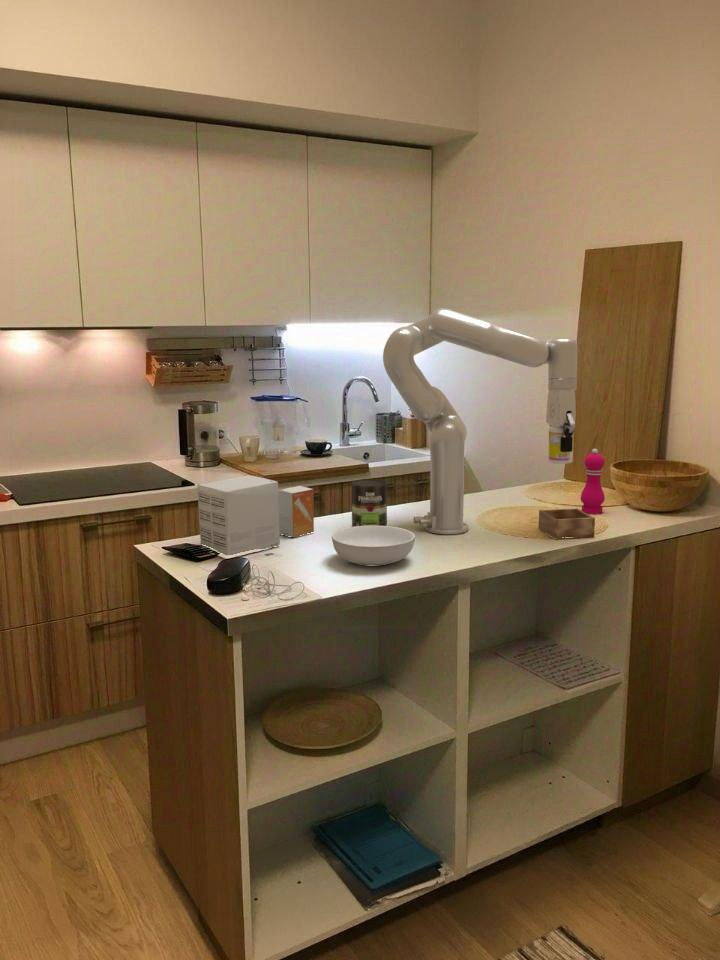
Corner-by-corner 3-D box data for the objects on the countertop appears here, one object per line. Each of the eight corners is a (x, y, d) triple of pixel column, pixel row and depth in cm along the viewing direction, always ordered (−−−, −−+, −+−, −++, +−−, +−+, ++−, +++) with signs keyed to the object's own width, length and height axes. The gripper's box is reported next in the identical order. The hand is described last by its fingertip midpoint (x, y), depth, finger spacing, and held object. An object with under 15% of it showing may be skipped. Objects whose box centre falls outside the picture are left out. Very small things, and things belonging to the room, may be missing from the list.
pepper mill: (606, 514, 248) (610, 450, 244) (583, 514, 248) (586, 450, 244) (600, 509, 255) (603, 446, 251) (577, 509, 255) (580, 446, 251)
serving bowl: (431, 560, 203) (432, 534, 202) (373, 580, 189) (373, 551, 187) (373, 544, 218) (373, 520, 216) (314, 561, 203) (314, 534, 202)
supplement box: (251, 537, 225) (249, 474, 221) (281, 547, 216) (279, 481, 212) (198, 550, 213) (195, 483, 210) (228, 561, 204) (225, 491, 200)
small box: (293, 538, 224) (292, 493, 221) (278, 534, 228) (277, 489, 225) (314, 533, 229) (313, 488, 227) (300, 529, 234) (299, 485, 231)
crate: (554, 539, 221) (555, 520, 220) (538, 528, 232) (539, 510, 231) (594, 537, 223) (595, 518, 222) (576, 526, 234) (577, 508, 233)
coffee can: (388, 534, 227) (388, 485, 224) (352, 535, 227) (351, 486, 224) (386, 525, 237) (386, 478, 234) (351, 526, 237) (350, 479, 234)
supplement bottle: (558, 459, 227) (559, 413, 224) (578, 462, 222) (579, 415, 219) (543, 462, 223) (544, 416, 220) (562, 465, 218) (563, 418, 215)
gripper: (537, 382, 226) (536, 445, 230) (561, 387, 209) (560, 455, 213) (563, 381, 227) (562, 444, 231) (588, 386, 210) (587, 453, 214)
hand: (561, 449), depth 222 cm, fingers closed on supplement bottle, 6 cm apart
